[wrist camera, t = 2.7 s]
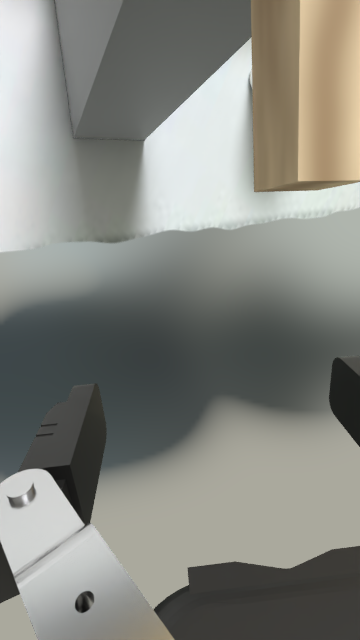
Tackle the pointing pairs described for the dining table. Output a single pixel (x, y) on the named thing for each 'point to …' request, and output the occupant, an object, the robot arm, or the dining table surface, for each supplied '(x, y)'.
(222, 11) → the stand
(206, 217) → the dining table surface
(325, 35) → the block
